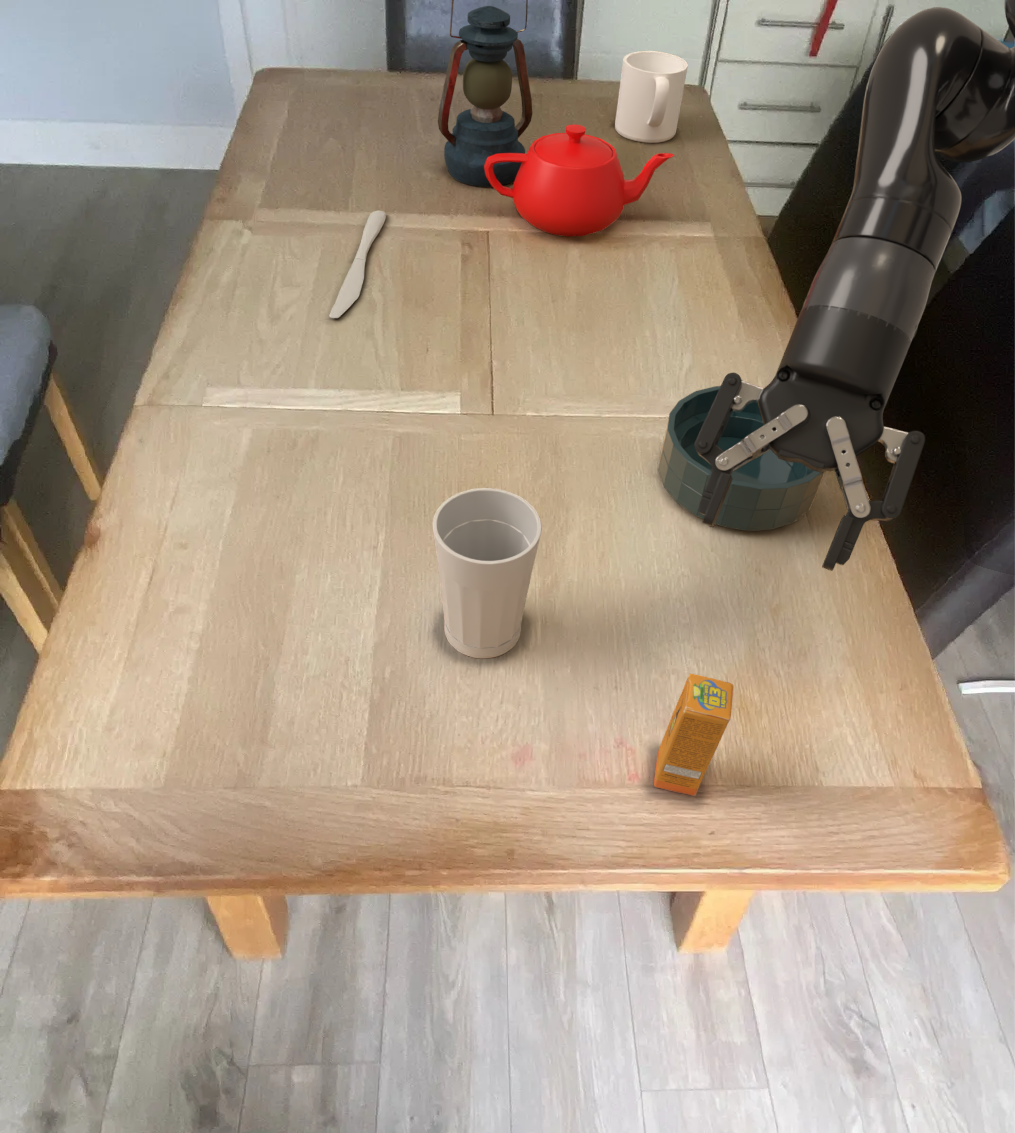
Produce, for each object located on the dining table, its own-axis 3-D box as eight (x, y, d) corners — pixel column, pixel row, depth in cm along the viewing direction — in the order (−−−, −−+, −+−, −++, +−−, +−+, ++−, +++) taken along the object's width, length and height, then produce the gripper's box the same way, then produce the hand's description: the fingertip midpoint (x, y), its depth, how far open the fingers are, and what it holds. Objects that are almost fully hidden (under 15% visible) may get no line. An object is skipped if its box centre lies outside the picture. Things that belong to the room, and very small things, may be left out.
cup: (523, 673, 72) (533, 571, 63) (424, 658, 72) (421, 554, 64) (536, 599, 77) (548, 495, 68) (445, 585, 78) (445, 480, 69)
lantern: (454, 195, 128) (456, -107, 103) (425, 161, 136) (420, -129, 110) (544, 182, 133) (567, -111, 107) (512, 149, 140) (526, -132, 114)
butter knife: (393, 211, 123) (372, 207, 123) (347, 320, 105) (322, 316, 105) (393, 215, 123) (372, 211, 123) (348, 324, 105) (322, 320, 105)
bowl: (810, 446, 93) (828, 399, 89) (814, 549, 83) (835, 501, 79) (664, 422, 95) (674, 375, 90) (650, 520, 85) (661, 471, 80)
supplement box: (699, 799, 65) (731, 722, 58) (652, 788, 65) (678, 710, 58) (703, 760, 67) (734, 681, 60) (657, 749, 68) (683, 669, 60)
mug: (610, 117, 151) (618, 50, 143) (669, 119, 151) (680, 51, 144) (622, 149, 142) (632, 79, 135) (684, 150, 143) (697, 80, 135)
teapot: (481, 242, 119) (484, 148, 111) (483, 189, 130) (486, 100, 121) (669, 250, 120) (686, 158, 111) (655, 198, 131) (671, 109, 122)
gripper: (753, 276, 60) (663, 506, 61) (976, 339, 56) (875, 583, 57) (755, 311, 67) (675, 515, 68) (953, 368, 63) (864, 585, 64)
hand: (766, 546), depth 63 cm, fingers open, 8 cm apart
